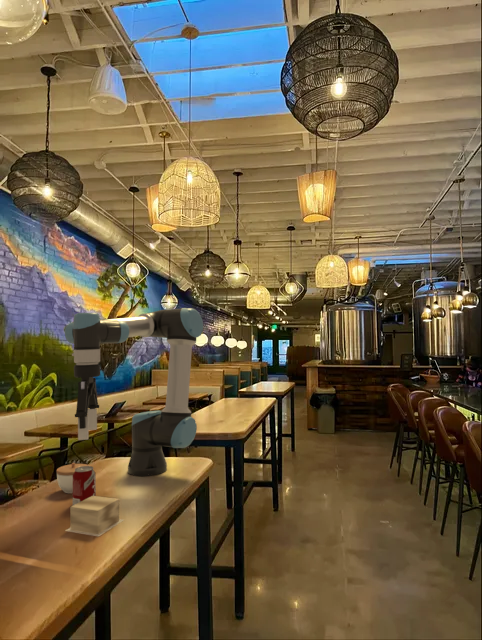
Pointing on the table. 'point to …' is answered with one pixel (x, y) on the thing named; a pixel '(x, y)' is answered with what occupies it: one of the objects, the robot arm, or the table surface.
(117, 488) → the table surface
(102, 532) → the grey square plate
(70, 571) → the table surface
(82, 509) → the beech block
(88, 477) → the soda can
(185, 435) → the robot arm
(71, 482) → the lidded jar
